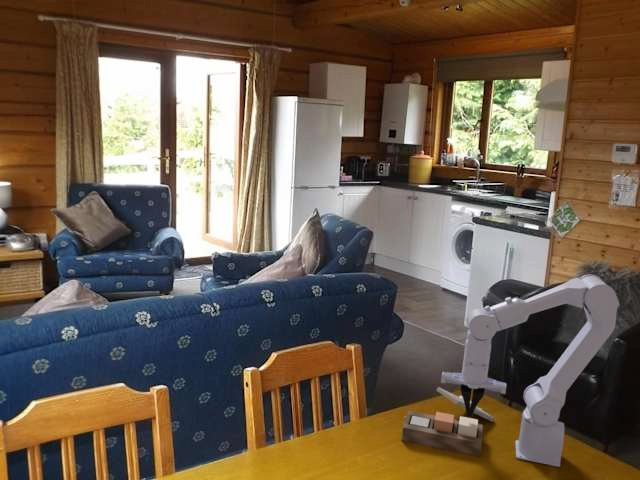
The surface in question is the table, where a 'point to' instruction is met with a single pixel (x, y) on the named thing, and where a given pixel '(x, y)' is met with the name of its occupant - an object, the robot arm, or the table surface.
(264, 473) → the table surface
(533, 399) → the robot arm
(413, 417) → the slate key
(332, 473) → the table surface
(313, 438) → the table surface
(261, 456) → the table surface
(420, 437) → the brown slotted tray
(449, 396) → the light switch
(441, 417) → the rust key
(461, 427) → the ivory key
